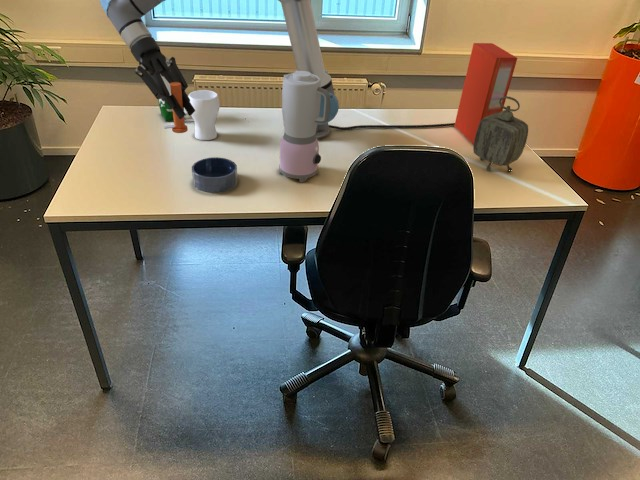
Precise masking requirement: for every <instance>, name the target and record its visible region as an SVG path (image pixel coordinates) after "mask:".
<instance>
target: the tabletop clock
mask: <svg viewBox="0 0 640 480" xmlns="http://www.w3.org/2000/svg"><path fill="white" fill-rule="evenodd" d="M505 98H506V100H507V99H508V100H511V101H513V102H515V103H516V104H517V108H515V109H514V108H511V106H510V105H506V106H505V105H504V106H503V105H502V104H501V100H502V99H505ZM499 103H500V106H501V107H502V108H503V111H501V112H500V113H494V114H491V115H489V116H487V117H485V118H483V119H482V120H481V121H480V123H479V126H478V129H477V132H476V135H475V140H474V144H473V150H472V151H473V154H474V155H475V156H476V157H478V158H479V160H480V161H487V162H488V163H489V164H488V165H487V166H486V167H485V169H486V171H487V172H489V171H491V170H492V167H491V166H492V164H494V165H497V166H500V167H507V169H508V170H507V169H506V171H507V172H508V173H512V171H513V168H512V167H510V165H511V164H512V163H514V162H516V161H518V159H519V158H521V156H522V154H523V152H524V149H525V148H526V145H527V140H528V135H529V124H528V123H526V122H525V121H524V120H522V119H520V118H518V117H515V115H514V113H513V112H517V111H518V110H520V106H521V105H520V102H519V100H517V99H516V98H514V97H511V96H508V95H507V96H506V97H502V98H501V99H500V101H499ZM509 170H510V171H509ZM511 170H512V171H511Z"/></svg>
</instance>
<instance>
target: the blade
mask: <svg viewBox="0 0 640 480" xmlns="http://www.w3.org/2000/svg"><path fill="white" fill-rule="evenodd" d="M170 89H171V95H174V97H175V98H176V100H177V101H178V103H179V105H180V106H181V108H182V109H183V100H182V90H181V83H179V82H172V83H170ZM173 118H174V121H173V124H170V125H163V128H164V129H165V130H166V129H171V130H172V132H173V133H175V134H184V133H187V132H188V130H189V129H188V125H186V123H187V124H188V123H195V121H194V119H193V118H189V119H185V116H184V117H183V118H182V119H179V118H178V116H177V115H176V113H175V112H174V110H173Z"/></svg>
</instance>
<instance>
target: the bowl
mask: <svg viewBox="0 0 640 480" xmlns="http://www.w3.org/2000/svg"><path fill="white" fill-rule="evenodd" d="M191 176H192V185H193V187H194V188H195V189H197V190H198V191H201V192H204V193H207V194H220V193H224V192H225V193H226V192H228V191H231V190H232V189H234V188H235V187H236V186H237V184H238V183H239V182H238V165H237V163H236V162H235V161H233V160H231V159H229V158H226V157H219V156H218V157H215V156H213V157H212V156H211V157H204V158H201V159H199V160H197V161H195V162H194V163H193V164H192V165H191Z"/></svg>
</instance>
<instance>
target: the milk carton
mask: <svg viewBox="0 0 640 480" xmlns="http://www.w3.org/2000/svg"><path fill="white" fill-rule="evenodd" d="M166 65H167V63H166ZM160 75H161V74H160ZM161 77H162V79H163V81H164V83H165V85H166V87H167V89H168V91H169V93H170V96H171V89H170V84H169V82H168V81H167V80H166V79H165V78H164V77H163V76H161ZM157 101H158V107H159V111H160V115H161V116H162V118H163V120H164V121H165V122H172V121H173V122H174V118H173V109H171V108H170V107H169V106H168V104H167V102H166V101H162V99H159V100H158V99H157ZM183 111H184V112H185V108H184V107H183Z"/></svg>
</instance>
